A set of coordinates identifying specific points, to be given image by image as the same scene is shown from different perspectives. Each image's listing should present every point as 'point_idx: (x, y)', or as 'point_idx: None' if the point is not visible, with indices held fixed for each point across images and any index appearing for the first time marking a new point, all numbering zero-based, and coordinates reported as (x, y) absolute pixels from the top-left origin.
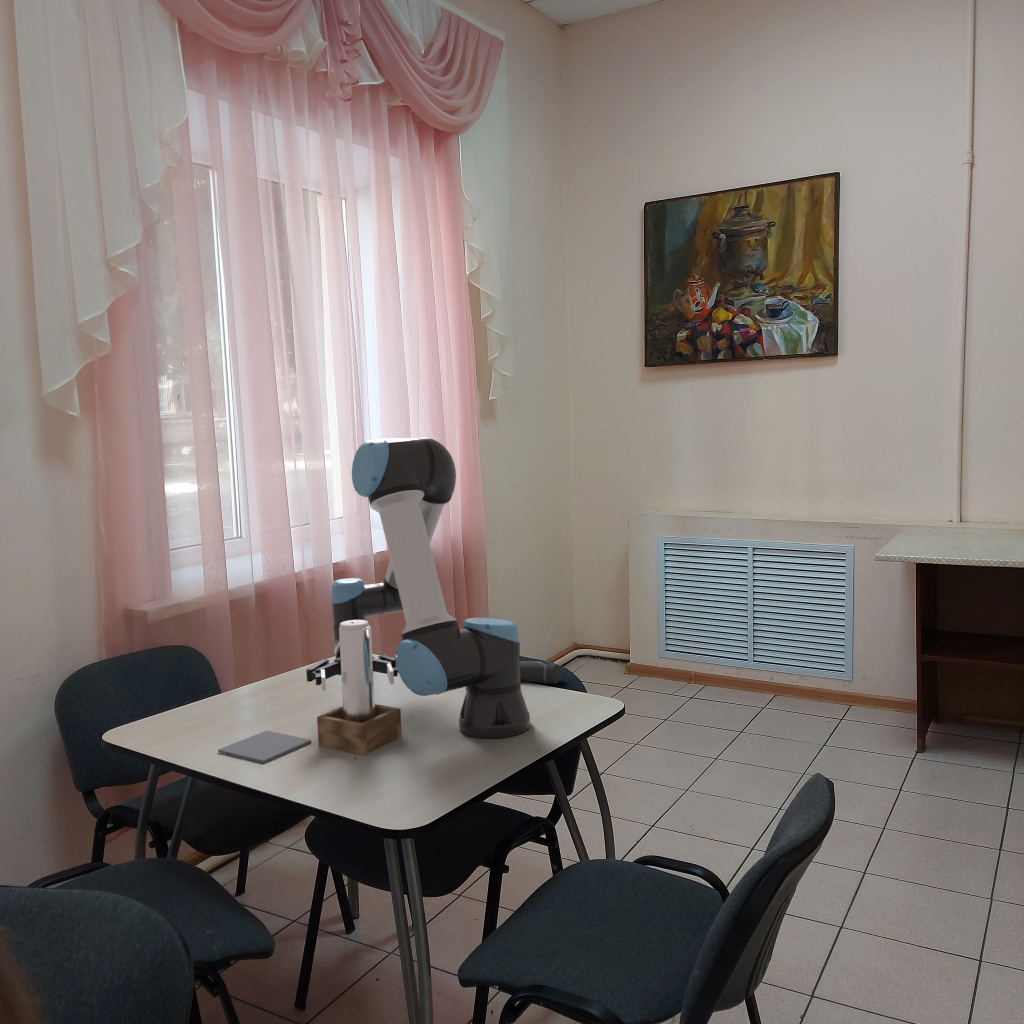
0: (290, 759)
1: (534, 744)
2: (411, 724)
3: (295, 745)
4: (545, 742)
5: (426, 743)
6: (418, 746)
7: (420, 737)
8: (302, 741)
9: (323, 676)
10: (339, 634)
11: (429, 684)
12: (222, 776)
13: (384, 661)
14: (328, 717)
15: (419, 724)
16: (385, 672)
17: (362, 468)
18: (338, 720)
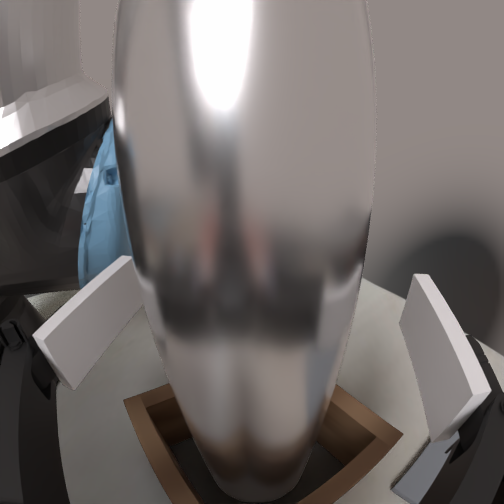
0: (422, 401)
1: (51, 304)
2: (86, 493)
3: (427, 454)
4: (41, 303)
5: (133, 380)
6: (154, 375)
7: (121, 412)
8: (414, 479)
9: (426, 283)
10: (371, 46)
11: None
12: (493, 352)
13: (6, 396)
14: (366, 420)
15: (73, 479)
16: (53, 414)
17: None
18: (335, 387)
